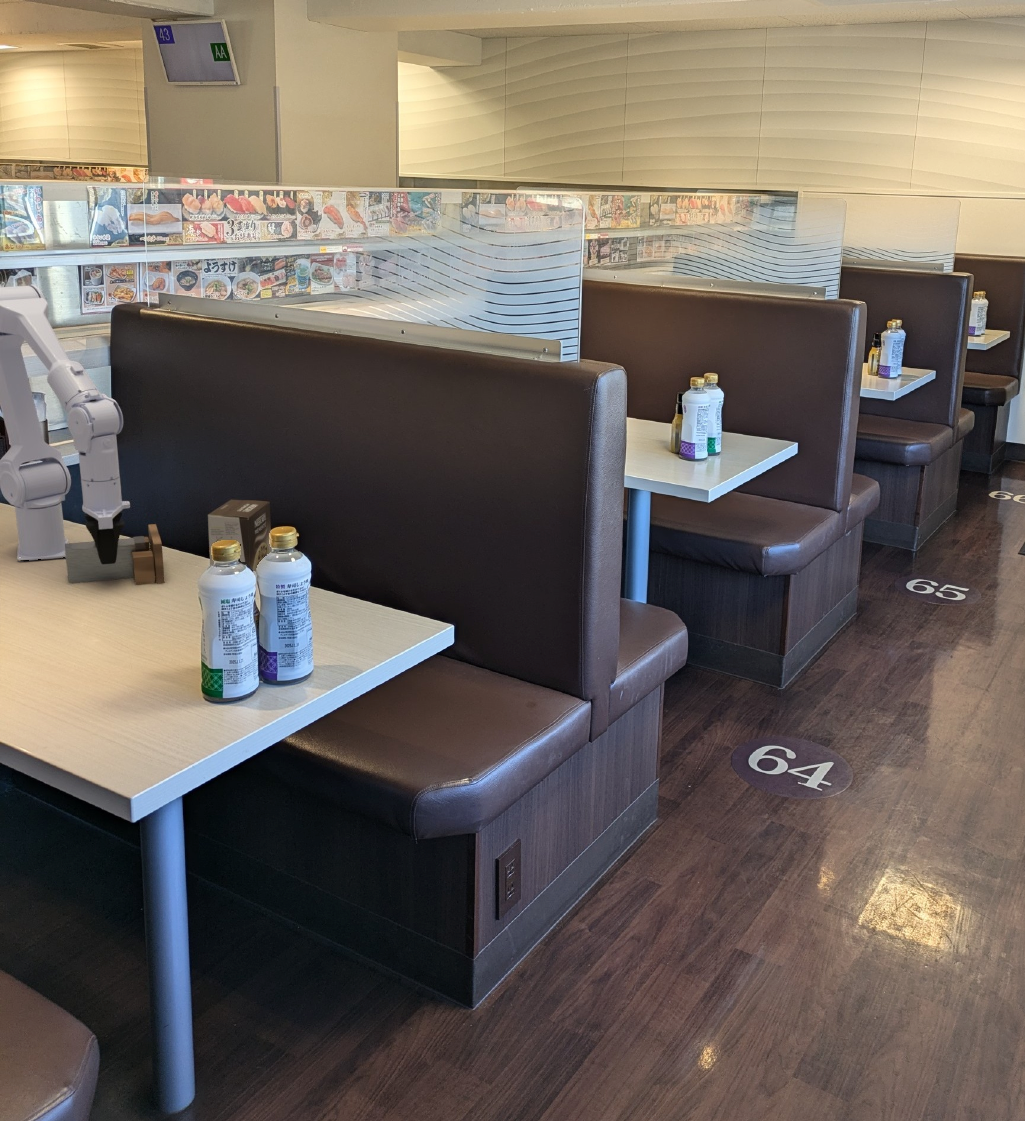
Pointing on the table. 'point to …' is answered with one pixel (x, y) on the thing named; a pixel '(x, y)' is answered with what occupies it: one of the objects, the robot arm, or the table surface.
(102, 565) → the rail
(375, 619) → the table surface
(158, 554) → the post block
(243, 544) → the coffee box
